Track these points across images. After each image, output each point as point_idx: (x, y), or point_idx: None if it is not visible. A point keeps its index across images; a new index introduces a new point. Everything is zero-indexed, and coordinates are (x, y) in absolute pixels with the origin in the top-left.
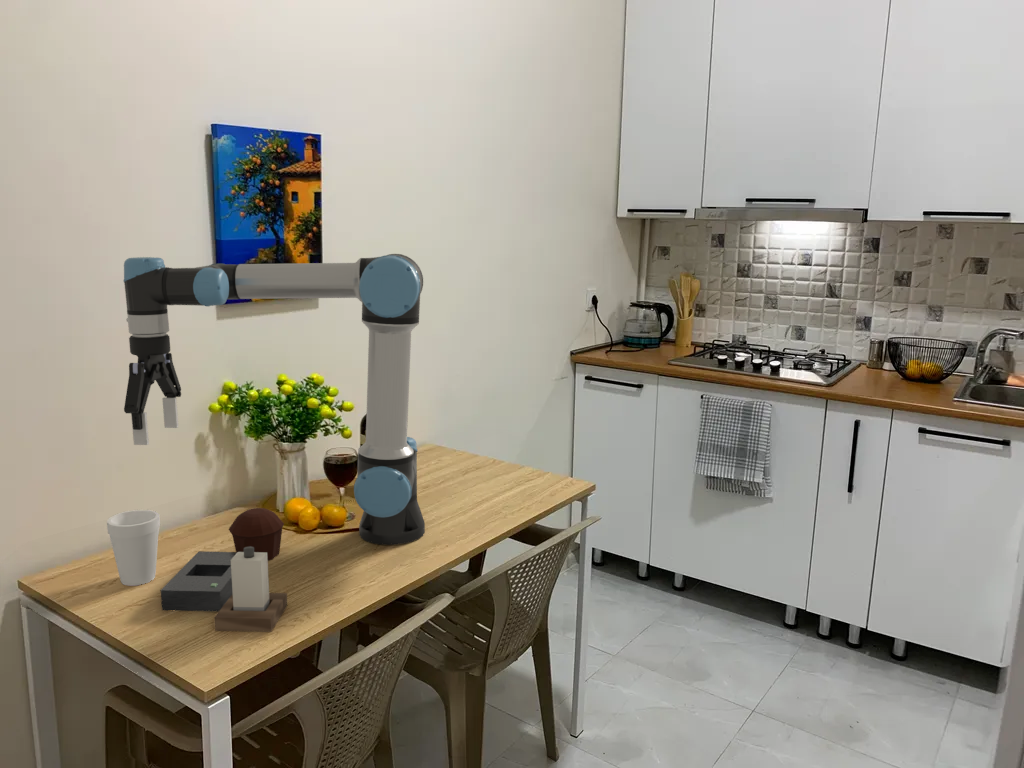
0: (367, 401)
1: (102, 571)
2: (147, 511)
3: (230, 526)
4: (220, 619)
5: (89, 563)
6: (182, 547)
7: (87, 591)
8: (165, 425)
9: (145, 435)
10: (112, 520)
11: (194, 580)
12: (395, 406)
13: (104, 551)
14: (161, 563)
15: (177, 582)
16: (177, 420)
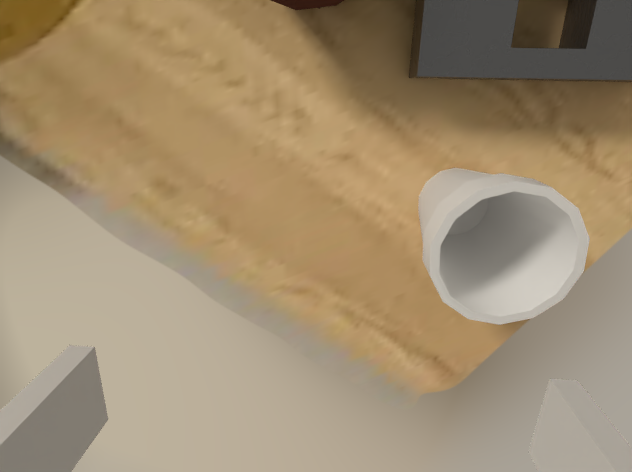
0: None
1: (408, 287)
2: (444, 238)
3: (317, 4)
4: None
5: (368, 325)
6: (276, 172)
7: None
8: (98, 426)
9: (624, 444)
10: (496, 311)
11: (624, 8)
12: None
13: (307, 323)
14: (370, 185)
15: (629, 53)
16: (42, 381)
